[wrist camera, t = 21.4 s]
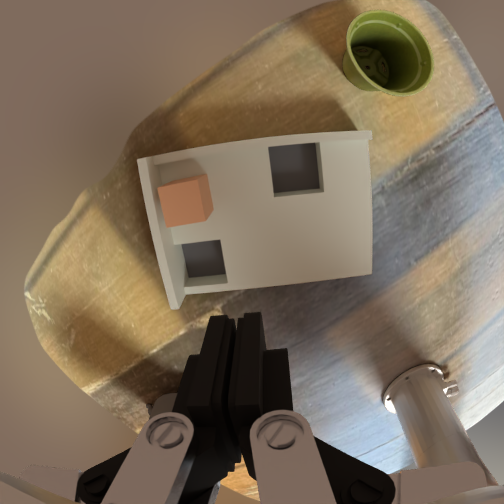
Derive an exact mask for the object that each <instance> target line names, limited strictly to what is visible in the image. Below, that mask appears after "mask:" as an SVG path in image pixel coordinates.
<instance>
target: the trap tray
mask: <svg viewBox="0 0 504 504" xmlns="http://www.w3.org/2000/svg"><path fill="white" fill-rule="evenodd" d="M368 140H373V139H372V130H369V131H339V132H321V133H306V134H294V135H284V136H274V137H265V138H256V139H248V140H241V141H234V142H227V143H220V144H214V145H208V146H202V147H196V148H191V149H185V150H180V151H175V152H170V153H165V154H160V155H156V156H151V157H145V158H141V159H137V163H138V169H139V175H140V180H141V185H142V191H143V196H144V201H145V206H146V211H147V215H148V220H149V225H150V229H151V234H152V238H153V242H154V247H155V251H156V255H157V259H158V263H159V267H160V271H161V275H162V279H163V282H164V286H165V290H166V293H167V297H168V301H169V304H170V308H171V309H179V308H180V306H181V304H182V302H183V299H184V297H185V295H186V294H197V293H209V292H220V291H231V290H241V289H251V288H261V287H270V286H280V285H289V284H298V283H306V282H315V281H323V280H331V279H339V278H347V277H354V276H362V275H369V274H372V193H371V173H370V158H369V146H368ZM204 174H207V176H208V182H209V187H210V192H211V197H212V202H213V208H214V210H213V212H212V213H211V214H210V216H209V217H208V219H207V220H206V221H204V222H198V223H192V224H186V225H180V226H175V227H169V228H166V224H165V220H164V215H163V211H162V207H161V202H160V198H159V193H158V189H157V188H158V187H160V186H162V185H164V184H167V183H169V182H171V181H174V180H179V179H184V178H188V177H193V176H199V175H204Z"/></svg>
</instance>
